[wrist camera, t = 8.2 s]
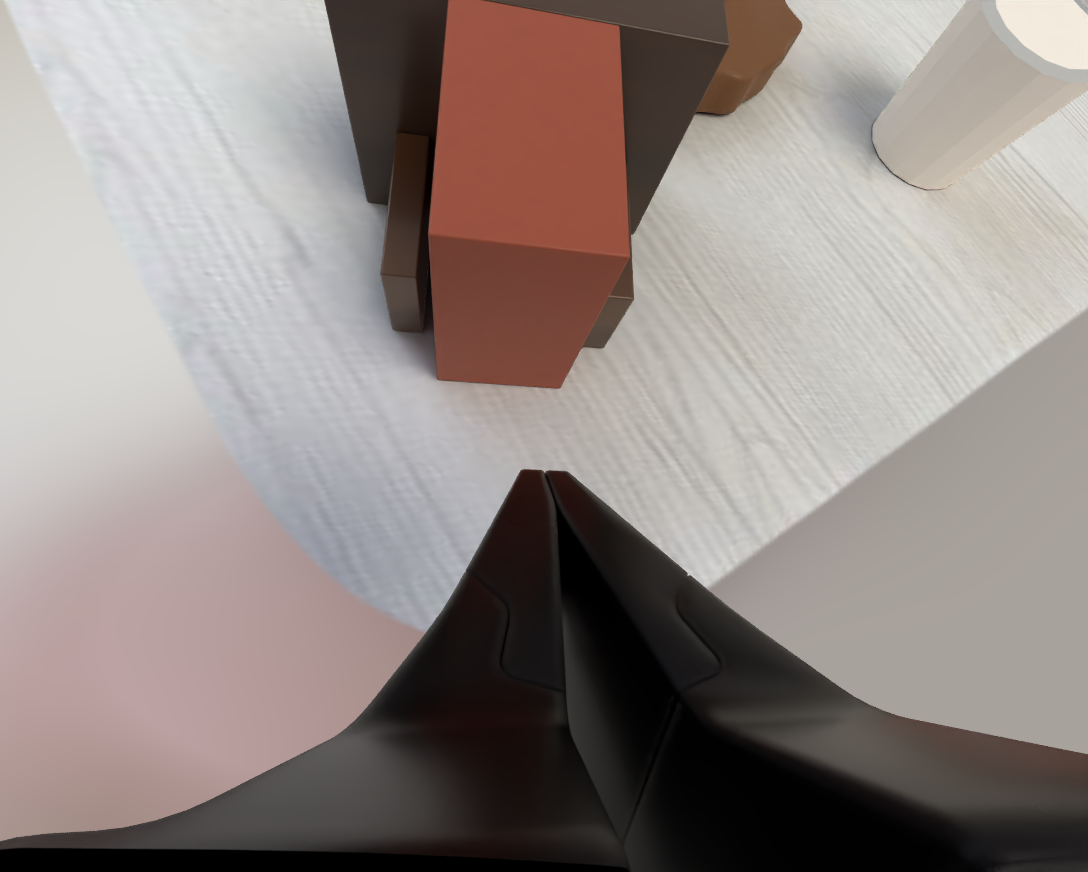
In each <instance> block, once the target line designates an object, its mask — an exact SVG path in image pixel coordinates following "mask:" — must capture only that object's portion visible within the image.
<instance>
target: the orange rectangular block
mask: <svg viewBox="0 0 1088 872" xmlns="http://www.w3.org/2000/svg"><path fill="white" fill-rule="evenodd" d="M428 238H429V254H430V271H431V287H432V303H433V319H434V335H435V351H436V368H437V379H438V380H449V381H463V382H477V383H490V384H504V385H518V386H532V387H546V388H560V387H561V386H562V384H563V382H564V380H565V378H566V376H567V374H568V372H569V371H570V369H571V367H572V365H573V363H574V361H575V359H576V357H577V356H578V354H579V352H580V350H581V348H582V346H583V344H584V342H585V341H586V339H587V337H588V335H589V333H590V331H591V329H592V327H593V326H594V324H595V322H596V320H597V318H598V316H599V314H600V312H601V310H602V309H603V307H604V305H605V303H606V301H607V299H608V297H609V295H610V294H611V292H612V290H613V288H614V286H615V284H616V282H617V280H618V279H619V277H620V275H621V273H622V271H623V269H624V267H625V265H626V264H627V262H628V260H629V258H630V247H629V225H628V203H627V181H626V159H625V137H624V115H623V93H622V71H621V49H620V28H619V26H618V25H612V24H607V23H602V22H596V21H591V20H585V19H580V18H575V17H569V16H564V15H559V14H553V13H548V12H543V11H537V10H532V9H526V8H521V7H516V6H510V5H505V4H500V3H494V2H489V1H484V0H448V6H447V18H446V30H445V42H444V54H443V65H442V77H441V89H440V101H439V112H438V124H437V136H436V148H435V160H434V171H433V183H432V195H431V207H430V218H429V230H428Z"/></svg>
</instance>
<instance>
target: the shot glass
mask: <svg viewBox="0 0 1088 872" xmlns="http://www.w3.org/2000/svg"><path fill="white" fill-rule="evenodd" d="M1087 90H1088V4H1087V3H1086V2H1085V1H1084V0H967V1H966V3H965V4H964V5H963V7H962V8H961V9H960V11H959V12H958V13H957V15H956V16H955V17H954V18H953V20H952V21H951V22H950V24H949V25H948V26H947V28H946V29H945V30H944V31H943V33H942V34H941V35H940V37H939V38H938V39H937V41H936V42H935V43H934V45H933V46H932V47H931V48H930V50H929V51H928V52H927V54H926V55H925V56H924V58H923V59H922V60H921V62H920V63H919V64H918V65H917V67H916V68H915V69H914V71H913V72H912V73H911V75H910V76H909V77H908V78H907V80H906V81H905V82H904V84H903V85H902V86H901V88H900V89H899V90H898V92H897V93H896V94H895V95H894V97H893V98H892V99H891V101H890V102H889V103H888V105H887V106H886V107H885V109H884V110H883V111H882V112H881V114H880V115H879V117H878V118H877V120H876V121H875V123H874V125H873V130H872V141H873V144H874V146H875V148H876V151H877V153H878V156H879V158H880V159H881V160H882V161H883V162H884V164H885V165H886V166H887V167H888V168H889V169H890V171H891V172H892V173H894V174H895V175H897V176H898V177H900V178H901V179H903V180H904V181H905V182H907V183H908V184H911V185H914V186H917V187H920V188H923V189H926V190H930V189H944V188H946V187H947V186H949V185H951V184H953V183H955V182H956V181H958V180H959V179H960V178H962V177H963V176H965V175H966V174H968V173H969V172H970V171H972V170H973V169H975V168H976V167H978V166H979V165H981V164H982V163H983V162H985V161H986V160H988V159H989V158H991V157H992V156H994V155H995V154H996V153H998V152H999V151H1001V150H1002V149H1004V148H1005V147H1006V146H1008V145H1009V144H1011V143H1012V142H1014V141H1015V140H1017V139H1018V138H1019V137H1021V136H1022V135H1024V134H1025V133H1027V132H1028V131H1029V130H1031V129H1032V128H1034V127H1035V126H1037V125H1038V124H1040V123H1041V122H1042V121H1044V120H1045V119H1047V118H1048V117H1050V116H1051V115H1052V114H1054V113H1055V112H1057V111H1058V110H1060V109H1061V108H1063V107H1064V106H1065V105H1067V104H1068V103H1070V102H1071V101H1073V100H1074V99H1076V98H1077V97H1078V96H1080V95H1081V94H1083V93H1084V92H1086V91H1087Z"/></svg>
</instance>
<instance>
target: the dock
mask: <svg viewBox="0 0 1088 872" xmlns="http://www.w3.org/2000/svg"><path fill="white" fill-rule="evenodd" d="M324 1H325V6H326V10H327V15H328V20H329V24H330V29H331V34H332V39H333V43H334V48H335V53H336V57H337V62H338V67H339V71H340V76H341V81H342V85H343V90H344V95H345V100H346V104H347V109H348V114H349V118H350V123H351V128H352V132H353V137H354V142H355V146H356V151H357V156H358V161H359V165H360V170H361V175H362V179H363V184H364V189H365V193H366V198H367V201H368V202H373V203H381V204H388V211H387V220H386V228H385V237H384V246H383V255H382V264H381V273H380V274H381V278H382V283H383V287H384V292H385V296H386V301H387V306H388V310H389V315H390V319H391V324H392V328H393V330H395V331H407V332H419V333H422V332H423V326H424V314H425V302H426V290H427V278H428V265H429V238H428V230H429V218H430V207H431V195H432V183H433V171H434V160H435V148H436V136H437V124H438V112H439V101H440V89H441V77H442V65H443V54H444V42H445V30H446V18H447V6H448V0H324ZM484 1H489V2H494V3H500V4H505V5H510V6H516V7H521V8H526V9H532V10H537V11H543V12H548V13H553V14H559V15H564V16H569V17H575V18H580V19H585V20H591V21H596V22H602V23H607V24H612V25H618V26H619V28H620V49H621V71H622V93H623V115H624V137H625V159H626V181H627V203H628V225H629V247H630V258H629V260H628V262H627V264H626V265H625V267H624V269H623V271H622V273H621V275H620V277H619V279H618V280H617V282H616V284H615V286H614V288H613V290H612V292H611V294H610V295H609V297H608V299H607V301H606V303H605V305H604V307H603V309H602V310H601V312H600V314H599V316H598V318H597V320H596V322H595V324H594V326H593V327H592V329H591V331H590V333H589V335H588V337H587V339H586V341H585V342H584V344H583V346H584V347H596V348H604V347H605V345H606V344H607V342H608V340H609V339H610V337H611V335H612V334H613V332H614V331H615V329H616V327H617V326H618V324H619V323H620V321H621V319H622V318H623V316H624V315H625V313H626V311H627V310H628V308H629V307H630V305H631V303H632V302H633V300H634V290H633V268H632V247H631V234H634V233H635V231H636V229H637V227H638V225H639V223H640V221H641V219H642V217H643V215H644V213H645V211H646V209H647V207H648V205H649V203H650V201H651V199H652V197H653V195H654V193H655V191H656V189H657V187H658V185H659V184H660V182H661V180H662V178H663V176H664V174H665V172H666V170H667V168H668V166H669V164H670V162H671V160H672V158H673V156H674V154H675V152H676V150H677V148H678V146H679V144H680V142H681V140H682V138H683V136H684V134H685V132H686V130H687V128H688V126H689V124H690V123H691V121H692V119H693V117H694V115H695V113H696V111H697V109H698V107H699V105H700V103H701V101H702V99H703V97H704V95H705V93H706V91H707V89H708V87H709V85H710V83H711V81H712V79H713V77H714V75H715V73H716V71H717V69H718V67H719V65H720V63H721V62H722V60H723V58H724V56H725V54H726V52H727V50H728V48H729V46H730V42H729V34H728V26H727V18H726V11H725V3H724V0H484Z"/></svg>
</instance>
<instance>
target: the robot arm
mask: <svg viewBox="0 0 1088 872" xmlns="http://www.w3.org/2000/svg"><path fill="white" fill-rule="evenodd" d="M687 575H688V574H687V572H686V571H685V570H683V569H682V568H681V567H680V566H679V565H678V564H676V563H675V562H674V561H673V560H672V559H670V558H669V557H668V556H667V555H666V554H665V553H663V552H662V551H661V550H660V549H659V548H657V547H656V546H655V545H654V544H653V543H652V542H650V541H649V540H648V539H647V538H646V537H644V536H643V535H642V534H641V533H640V532H639V531H637V530H636V529H635V528H634V527H633V526H631V525H630V524H629V523H628V522H627V521H626V520H624V519H623V518H622V517H621V516H620V515H618V514H617V513H616V512H615V511H614V510H613V509H611V508H610V507H609V506H608V505H607V504H605V503H604V502H603V501H602V500H601V499H600V498H598V497H597V496H596V495H595V494H594V493H592V492H591V491H590V490H589V489H588V488H587V487H585V486H584V485H583V484H582V483H581V482H579V481H578V480H577V479H576V478H575V477H574V476H572V475H571V474H570V473H569V472H567V471H552V470H549V471H546V472H545V473H544V471H542V470H530V469H523V470H521V471H520V472H519V474H518V476H517V478H516V480H515V482H514V483H513V485H512V487H511V489H510V491H509V493H508V494H507V496H506V498H505V500H504V502H503V504H502V505H501V507H500V509H499V511H498V513H497V515H496V516H495V518H494V520H493V522H492V524H491V525H490V527H489V529H488V531H487V533H486V535H485V536H484V538H483V540H482V542H481V544H480V546H479V547H478V549H477V551H476V553H475V555H474V557H473V558H472V560H471V562H470V564H469V566H468V567H467V569H466V572H465V573H464V574H463V576H462V578H461V580H460V582H459V583H458V585H457V587H456V589H455V590H454V592H453V594H452V595H451V597H450V599H449V600H448V602H447V604H446V605H445V607H444V608H443V610H442V611H441V613H440V614H439V616H438V617H437V618H436V620H435V621H434V622H433V624H432V625H431V627H430V628H429V629H428V631H427V632H426V633H425V635H424V636H423V637H422V639H421V640H420V641H419V642H418V644H417V645H416V646H415V647H414V649H413V650H412V651H411V653H410V654H409V655H408V656H407V658H406V659H405V660H404V661H403V663H402V664H401V665H400V667H399V668H398V669H397V670H396V672H395V673H394V674H393V675H392V677H391V678H390V679H389V681H388V682H387V683H386V684H385V686H384V687H383V688H382V690H381V691H380V692H379V693H378V694H377V696H376V697H375V698H374V700H373V701H372V702H371V703H370V704H369V706H368V707H367V708H366V709H365V710H364V711H363V713H362V714H361V715H360V716H359V717H358V718H357V719H356V720H355V721H354V722H353V723H351V724H350V725H349V726H348V727H347V728H346V729H345V730H343V731H342V732H341V733H339V734H338V735H337V736H335V737H333V738H331V739H330V740H328V741H326V742H324V743H322V744H320V745H318V746H316V747H314V748H312V749H310V750H308V751H306V752H304V753H302V754H300V755H298V756H296V757H294V758H292V759H290V760H288V761H286V762H284V763H282V764H280V765H278V766H276V767H274V768H272V769H270V770H268V771H266V772H264V773H262V774H260V775H258V776H256V777H254V778H252V779H250V780H248V781H246V782H245V783H242V784H240V785H239V786H237V787H235V788H233V789H231V790H229V791H227V792H225V793H223V794H221V795H219V796H217V797H215V798H213V799H211V800H209V801H207V802H204V803H202V804H200V805H197V806H195V807H193V808H191V809H188V810H186V811H183V812H180V813H177V814H174V815H171V816H168V817H165V818H162V819H159V820H156V821H151V822H147V823H142V824H138V825H133V826H129V827H124V828H116V829H108V830H99V831H86V832H69V833H53V834H40V835H32V836H24V837H16V838H12V839H8V840H4V841H1V842H0V872H1088V754H1083V753H1078V752H1073V751H1068V750H1063V749H1058V748H1053V747H1048V746H1043V745H1038V744H1033V743H1028V742H1023V741H1018V740H1013V739H1008V738H1003V737H998V736H993V735H988V734H983V733H978V732H973V731H968V730H963V729H958V728H953V727H948V726H943V725H938V724H934V723H929V722H924V721H919V720H913V719H909V718H905V717H900V716H897V715H894V714H891V713H888V712H885V711H882V710H880V709H878V708H876V707H874V706H871V705H869V704H867V703H865V702H863V701H861V700H860V699H858V698H856V697H854V696H852V695H851V694H849V693H848V692H846V691H845V690H843V689H842V688H840V687H839V686H837V685H836V684H835V683H833V682H831V681H830V680H829V679H828V678H826V677H825V676H823V675H822V674H821V673H819V672H818V671H816V670H815V669H813V668H812V667H811V666H809V665H808V664H807V663H805V662H804V661H802V660H801V659H800V658H798V657H797V656H795V655H794V654H793V653H791V652H789V651H788V650H787V649H786V648H784V647H783V646H781V645H780V644H778V643H777V642H775V641H774V640H773V639H771V638H770V637H769V636H767V635H766V634H765V633H763V632H762V631H760V630H759V629H758V628H756V627H755V626H754V625H752V624H751V623H750V622H748V621H747V620H746V619H744V618H743V617H741V616H740V615H739V614H738V613H736V612H735V611H734V610H732V609H731V608H730V607H728V606H727V605H726V604H725V603H724V602H722V601H721V600H720V599H719V598H717V597H716V596H715V595H714V594H712V593H711V592H710V591H709V590H707V589H706V588H705V587H704V586H703V585H701V584H700V583H699V582H698V581H697V580H696V579H694V578H693V577H692V576H690V575H689V576H687Z"/></svg>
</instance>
